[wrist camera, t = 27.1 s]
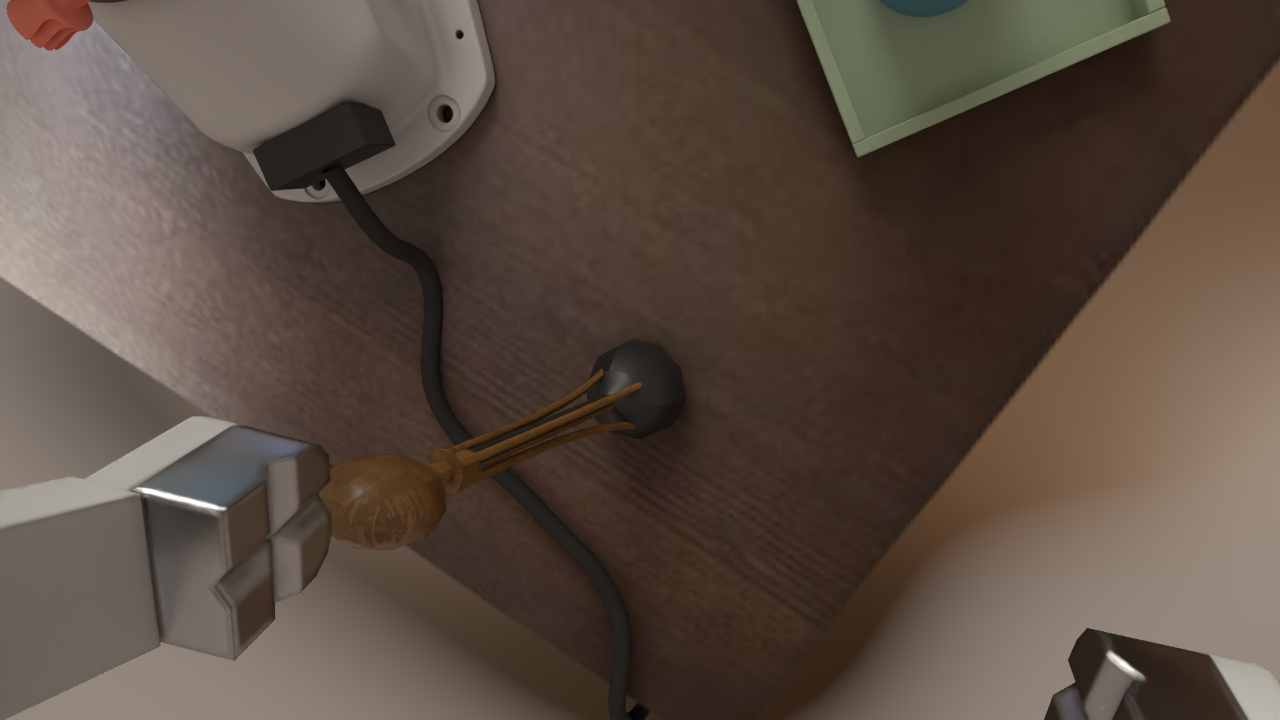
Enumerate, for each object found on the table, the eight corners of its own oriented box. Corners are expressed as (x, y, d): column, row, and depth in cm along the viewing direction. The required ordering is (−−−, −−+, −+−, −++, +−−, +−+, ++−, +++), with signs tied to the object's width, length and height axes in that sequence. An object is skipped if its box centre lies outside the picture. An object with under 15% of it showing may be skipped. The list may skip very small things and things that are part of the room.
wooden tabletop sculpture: (578, 414, 43) (248, 556, 26) (587, 328, 42) (248, 416, 25) (680, 442, 41) (392, 621, 23) (692, 352, 40) (400, 467, 22)
